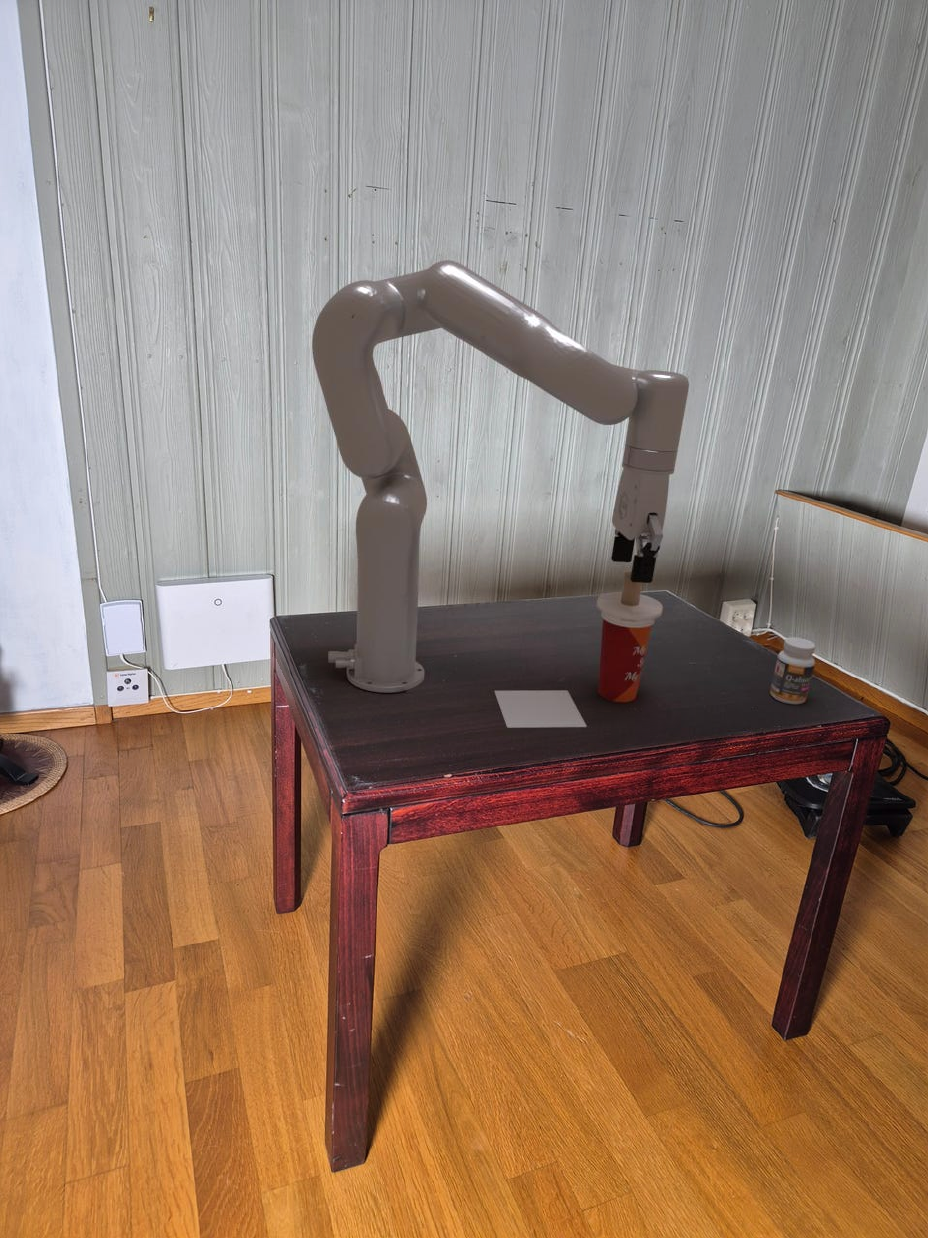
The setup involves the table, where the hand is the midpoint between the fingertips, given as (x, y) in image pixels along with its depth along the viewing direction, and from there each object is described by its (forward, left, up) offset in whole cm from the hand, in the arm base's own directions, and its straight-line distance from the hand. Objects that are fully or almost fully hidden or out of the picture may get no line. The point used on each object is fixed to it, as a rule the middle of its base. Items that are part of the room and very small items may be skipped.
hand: (630, 571), depth 128 cm
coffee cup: (+1, 0, -21) cm, 21 cm away
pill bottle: (+30, -1, -21) cm, 36 cm away
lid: (+1, 0, -6) cm, 6 cm away
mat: (-13, -5, -21) cm, 26 cm away
